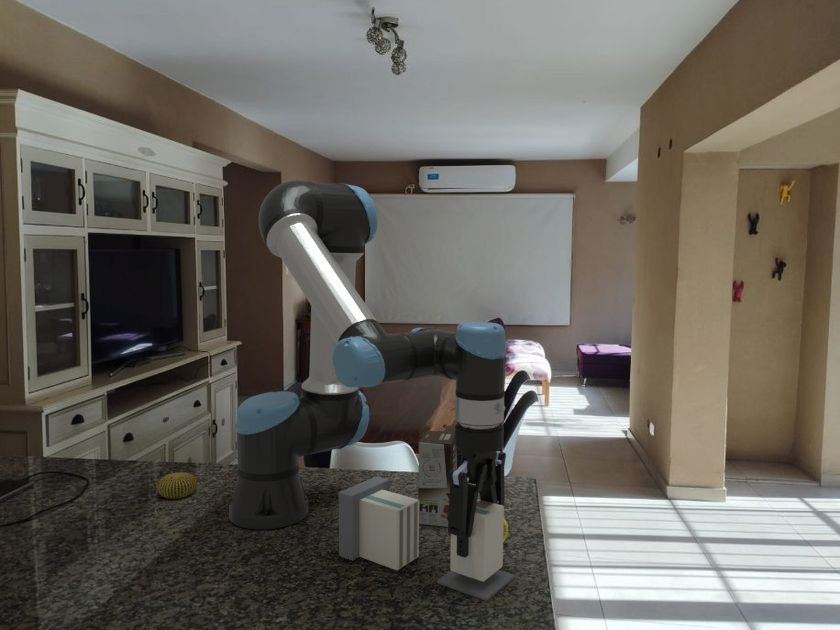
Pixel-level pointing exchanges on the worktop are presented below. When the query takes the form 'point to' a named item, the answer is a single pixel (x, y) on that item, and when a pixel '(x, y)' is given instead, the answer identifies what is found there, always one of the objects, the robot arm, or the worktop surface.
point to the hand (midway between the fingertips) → (476, 565)
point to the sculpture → (176, 485)
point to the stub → (484, 540)
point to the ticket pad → (378, 524)
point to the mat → (477, 584)
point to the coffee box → (435, 476)
